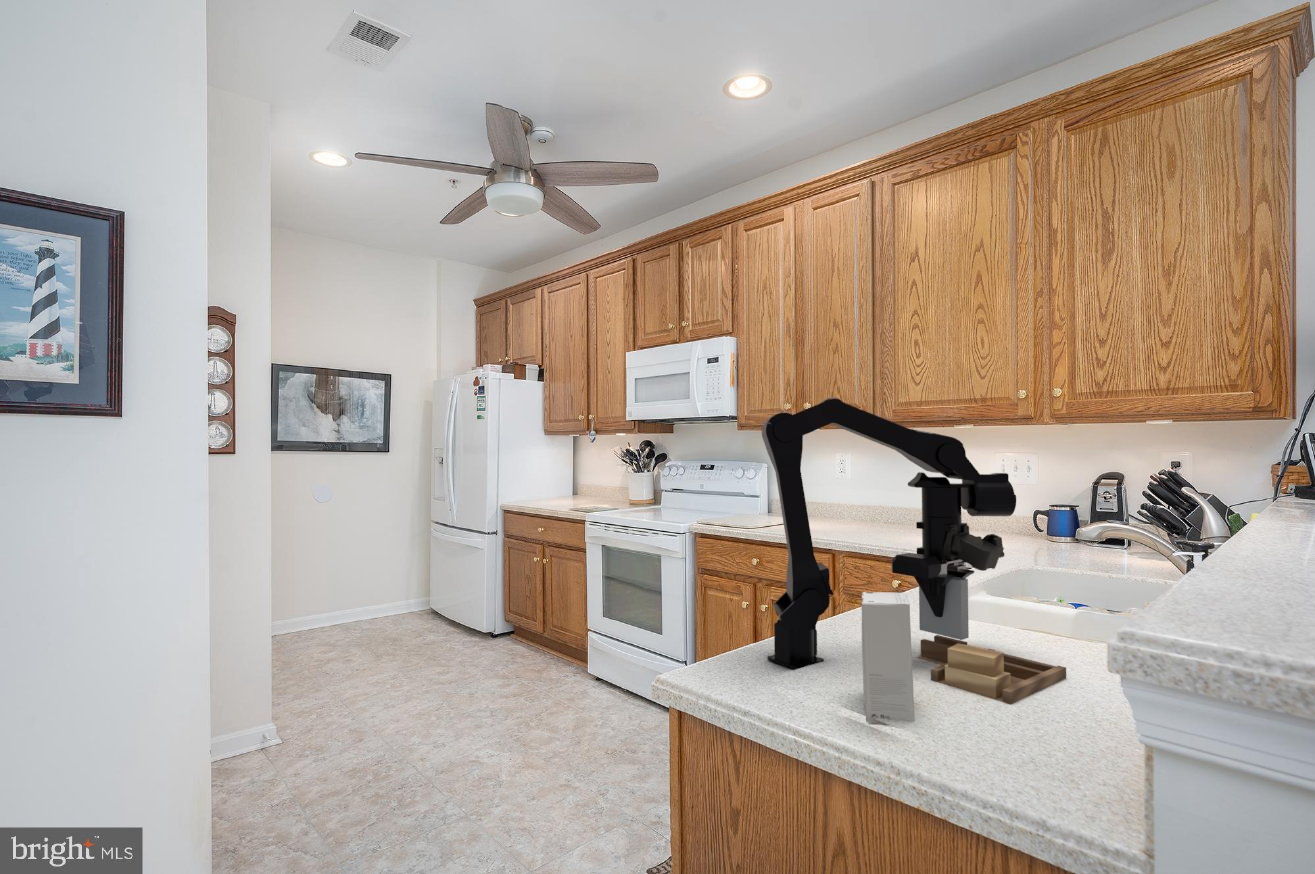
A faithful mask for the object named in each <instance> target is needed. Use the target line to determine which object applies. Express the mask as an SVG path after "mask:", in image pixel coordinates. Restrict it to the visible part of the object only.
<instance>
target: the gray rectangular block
mask: <svg viewBox="0 0 1315 874" xmlns="http://www.w3.org/2000/svg"><path fill="white" fill-rule="evenodd" d="M918 600H919V601H918V606H919V607H918V608H919V610H918V611H919V612H918V614H919V618H918V619H919V623H918V624H919V631H922V632H927V633H931V634H935V635H940V636H944V637H948V638H952V639H956V640H960V641H964V640H966V639H969V638H970V637H969V634H970V633H969V629H970V627H969V578H959V577H953V578H952V579H951V580H950V581H949V582H948V583H947V584H946V590H945V601H944V610H943V616H942V617H936V616H935V615H934V613H933V611H932V609H931V607H930V605H929V603H928V601H927V599H926V597H925V595H924V593H923V591H922V590H921V588H920V586H919V585H918Z"/></svg>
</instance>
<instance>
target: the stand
mask: <svg viewBox="0 0 1315 874" xmlns="http://www.w3.org/2000/svg"><path fill="white" fill-rule="evenodd" d="M958 643H959V644H964V645H968V642H967V641H964V640H959V639H955V638H951V637H947V636H943V635H939V634H935V635H934V636H933V640H930V639H926V638H922V639H920V655H919V656H917V657H916V658H917V659H920V660H923V661H928V662H930V663H934V664H938V665H940V666H941V665H944V664H947V663H948V648H950V647H952V646H954V645H956V644H958Z"/></svg>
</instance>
